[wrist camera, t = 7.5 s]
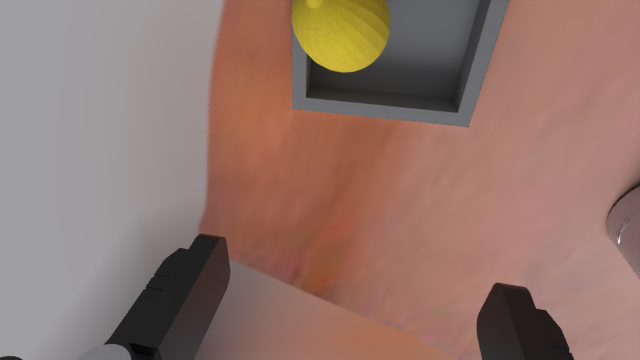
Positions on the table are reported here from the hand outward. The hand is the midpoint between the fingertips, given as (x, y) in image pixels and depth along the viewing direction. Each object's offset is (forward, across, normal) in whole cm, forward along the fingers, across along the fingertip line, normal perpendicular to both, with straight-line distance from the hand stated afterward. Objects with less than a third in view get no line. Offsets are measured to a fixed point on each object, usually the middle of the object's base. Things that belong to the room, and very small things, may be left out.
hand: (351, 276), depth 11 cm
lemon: (+19, +1, -2) cm, 19 cm away
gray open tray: (+20, -1, -2) cm, 21 cm away
